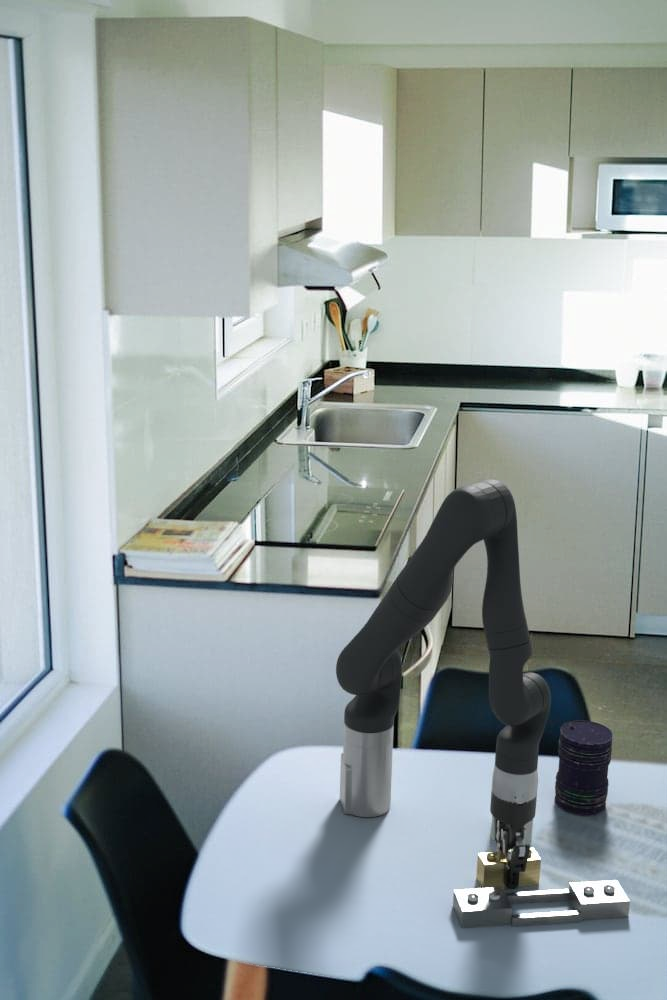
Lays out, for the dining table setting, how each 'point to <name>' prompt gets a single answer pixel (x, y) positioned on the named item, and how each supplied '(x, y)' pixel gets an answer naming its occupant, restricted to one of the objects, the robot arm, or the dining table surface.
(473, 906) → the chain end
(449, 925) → the dining table surface
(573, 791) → the dark purple cylinder
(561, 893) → the chain end
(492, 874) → the link
